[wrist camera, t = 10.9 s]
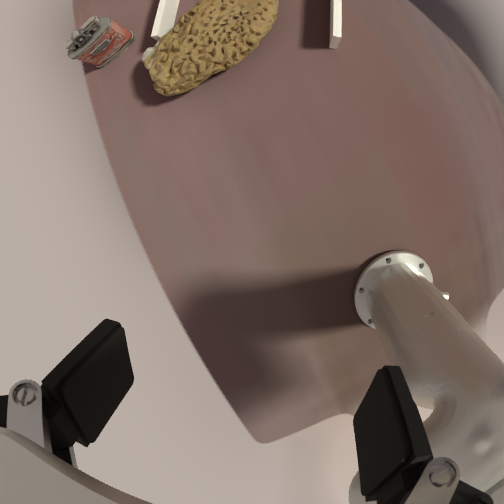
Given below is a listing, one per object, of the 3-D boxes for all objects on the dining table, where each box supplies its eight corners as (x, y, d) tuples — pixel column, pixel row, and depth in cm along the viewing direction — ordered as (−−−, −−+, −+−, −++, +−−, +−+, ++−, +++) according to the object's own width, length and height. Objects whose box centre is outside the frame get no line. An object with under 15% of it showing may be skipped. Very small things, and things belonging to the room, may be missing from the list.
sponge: (186, 110, 34) (315, 37, 25) (147, 99, 27) (298, 3, 18) (162, 51, 33) (270, -17, 24) (128, 36, 26) (247, -47, 17)
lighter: (100, 72, 32) (59, 59, 22) (94, 59, 31) (54, 46, 22) (138, 40, 29) (101, 18, 20) (131, 28, 29) (95, 6, 19)
